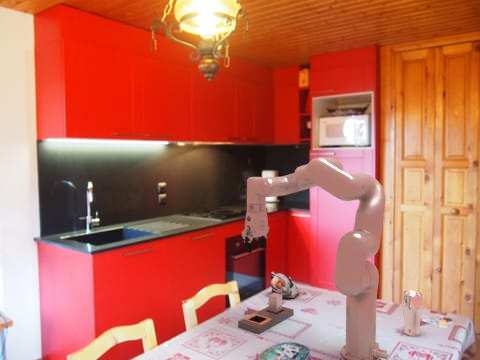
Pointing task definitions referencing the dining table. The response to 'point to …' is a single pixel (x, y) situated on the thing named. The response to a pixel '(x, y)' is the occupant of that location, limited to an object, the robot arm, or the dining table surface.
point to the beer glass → (412, 312)
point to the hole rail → (264, 320)
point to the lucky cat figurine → (283, 285)
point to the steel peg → (275, 303)
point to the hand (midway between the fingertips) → (255, 250)
